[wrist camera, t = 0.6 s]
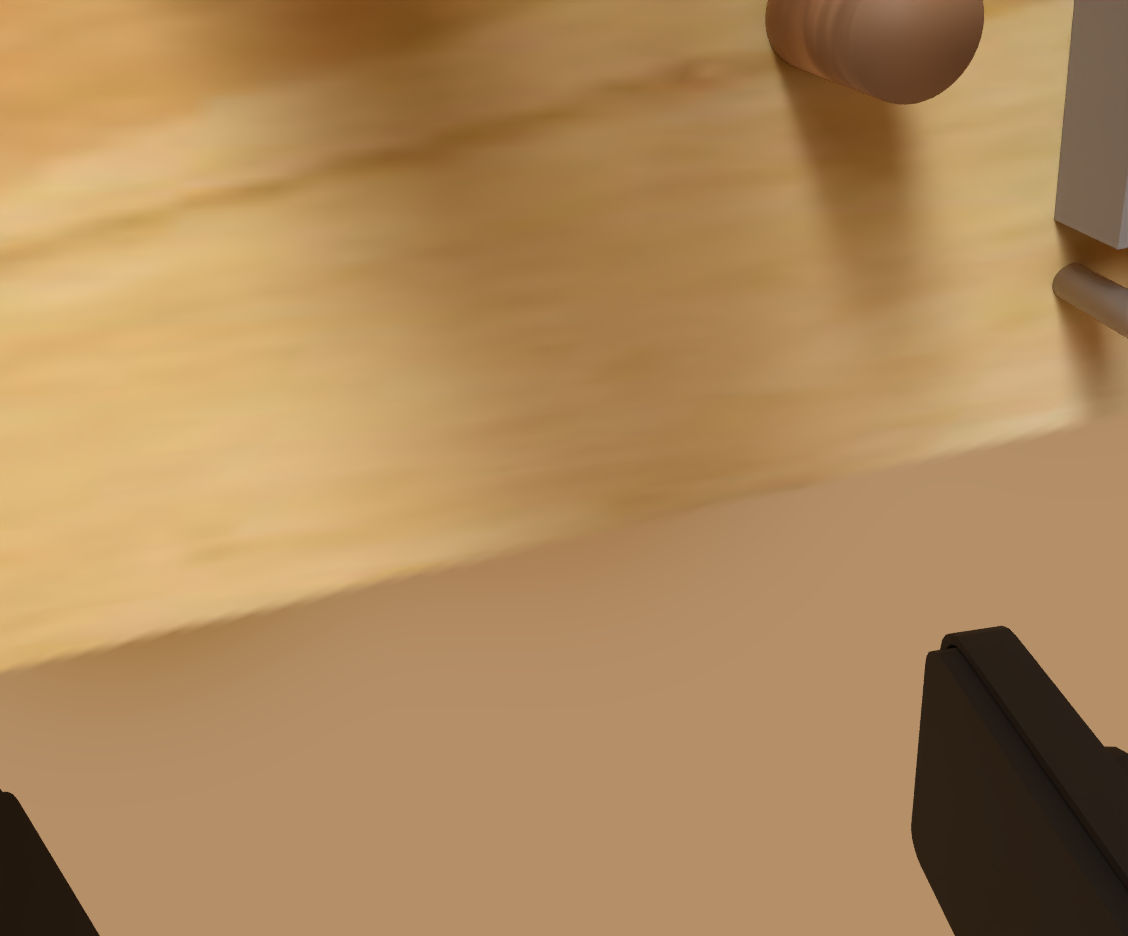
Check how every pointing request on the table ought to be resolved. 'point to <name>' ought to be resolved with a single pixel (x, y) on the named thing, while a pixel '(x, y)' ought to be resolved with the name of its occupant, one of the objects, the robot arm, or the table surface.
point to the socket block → (1096, 125)
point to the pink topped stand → (1094, 296)
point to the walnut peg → (879, 43)
